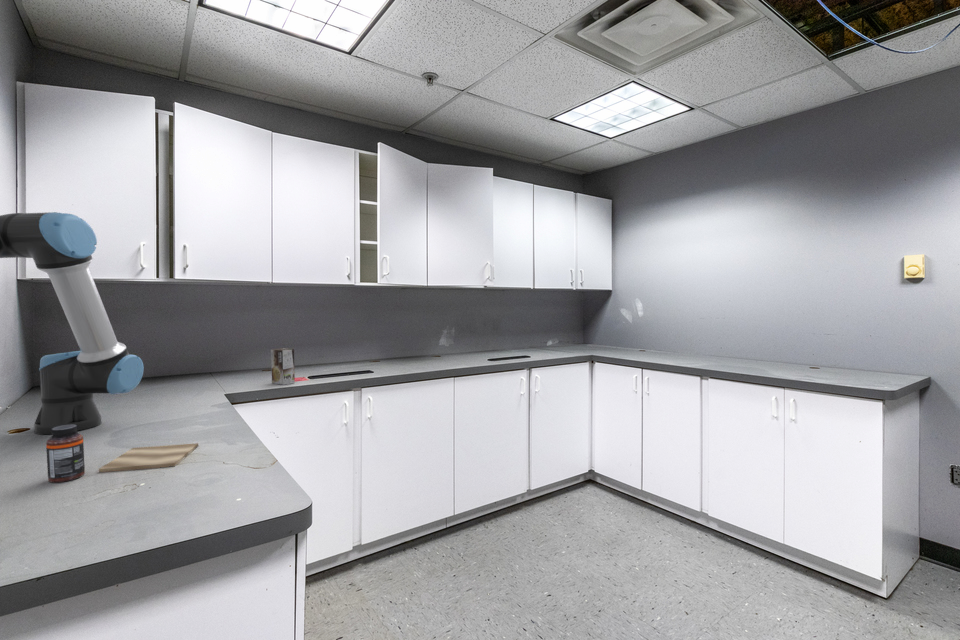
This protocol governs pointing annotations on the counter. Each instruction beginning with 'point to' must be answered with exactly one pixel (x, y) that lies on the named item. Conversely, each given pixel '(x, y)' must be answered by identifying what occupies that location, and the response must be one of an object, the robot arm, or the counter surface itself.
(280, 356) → the coffee box
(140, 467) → the oak pad
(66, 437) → the supplement bottle
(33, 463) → the counter surface
